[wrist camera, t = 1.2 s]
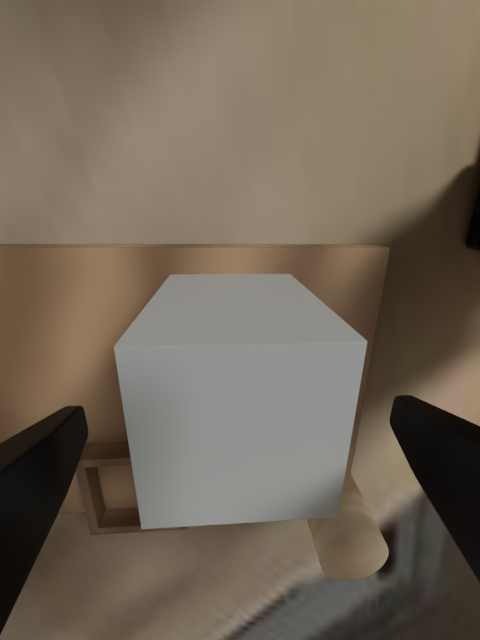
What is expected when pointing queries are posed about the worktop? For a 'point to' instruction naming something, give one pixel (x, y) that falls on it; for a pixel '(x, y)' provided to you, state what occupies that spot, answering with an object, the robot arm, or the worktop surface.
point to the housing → (238, 401)
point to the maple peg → (349, 538)
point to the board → (112, 322)
